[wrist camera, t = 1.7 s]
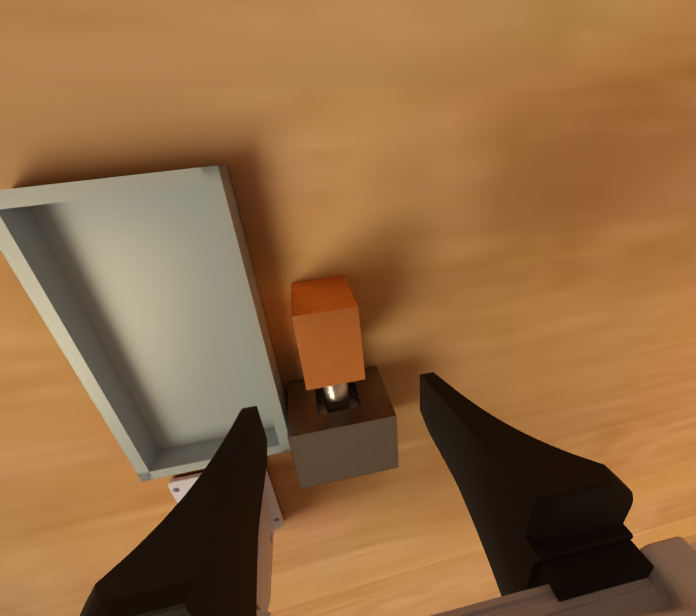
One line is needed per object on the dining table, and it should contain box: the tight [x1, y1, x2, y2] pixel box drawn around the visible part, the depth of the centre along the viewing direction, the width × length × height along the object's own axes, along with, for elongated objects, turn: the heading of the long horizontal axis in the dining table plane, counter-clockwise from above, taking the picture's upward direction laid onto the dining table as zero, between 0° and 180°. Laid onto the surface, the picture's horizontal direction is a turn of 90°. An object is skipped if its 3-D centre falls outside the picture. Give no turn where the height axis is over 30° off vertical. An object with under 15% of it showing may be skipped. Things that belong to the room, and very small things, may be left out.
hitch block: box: [287, 366, 398, 489], centre depth 23 cm, size 5×7×5 cm
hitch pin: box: [291, 275, 365, 413], centre depth 22 cm, size 15×4×5 cm, turn 6°
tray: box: [0, 164, 291, 481], centre depth 20 cm, size 20×11×2 cm, turn 6°
